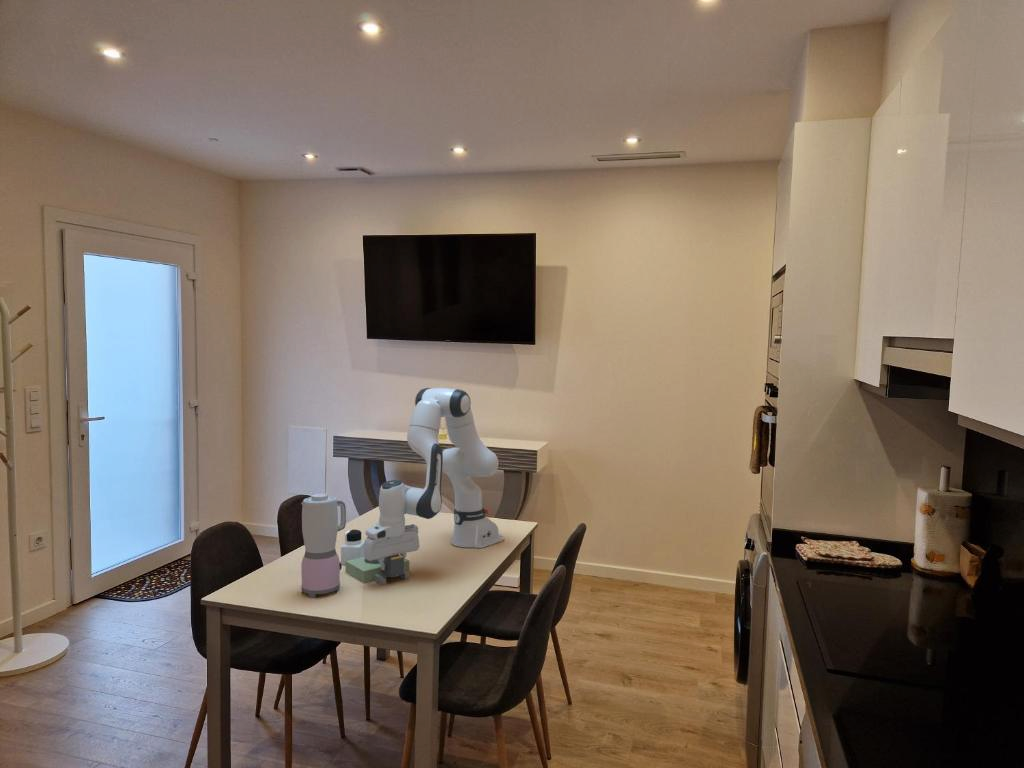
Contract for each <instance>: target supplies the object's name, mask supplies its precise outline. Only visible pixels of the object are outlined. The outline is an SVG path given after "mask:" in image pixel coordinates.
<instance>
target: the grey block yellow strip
mask: <svg viewBox="0 0 1024 768" xmlns="http://www.w3.org/2000/svg"><path fill="white" fill-rule="evenodd" d="M383 562H384V563H385V564H387V569H386V570H381V572H382V573H384V574H386V575H387V576H389V577H390V578H394V577H400V576H399V575H403V574H404V557H403V555H400V554H399V555H394V556H389V557H385V558H384V561H383ZM389 577H388V578H389Z"/></svg>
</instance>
